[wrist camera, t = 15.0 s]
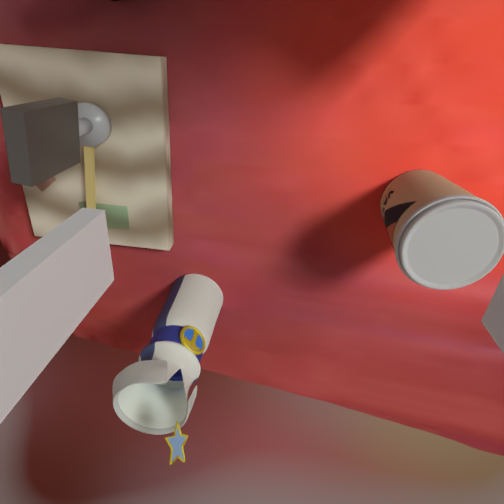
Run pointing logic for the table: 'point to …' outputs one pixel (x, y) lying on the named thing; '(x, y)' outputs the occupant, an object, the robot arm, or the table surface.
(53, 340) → the robot arm
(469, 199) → the coffee cup
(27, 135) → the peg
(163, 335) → the water bottle
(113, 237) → the dial board
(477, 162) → the table surface
